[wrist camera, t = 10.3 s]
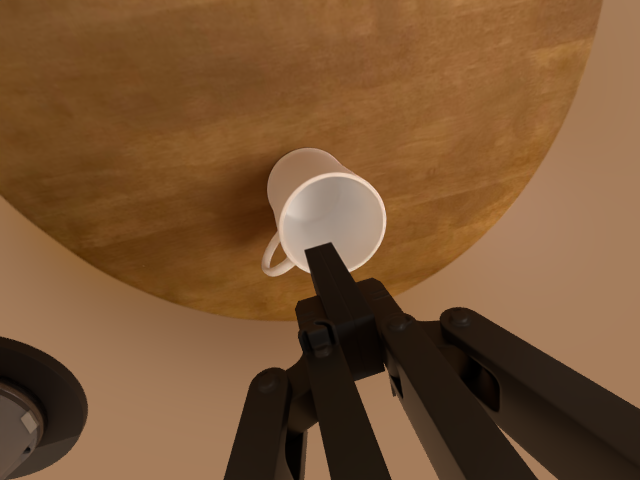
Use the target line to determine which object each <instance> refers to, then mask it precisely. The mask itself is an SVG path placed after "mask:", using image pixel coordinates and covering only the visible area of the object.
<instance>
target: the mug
mask: <svg viewBox="0 0 640 480" xmlns="http://www.w3.org/2000/svg"><path fill="white" fill-rule="evenodd" d="M267 194H268V199H269V203H270V205H271V207H272V209H273V211H274V215H275V220H276V225H277V229H278V231H277V232H276V234H275V235H274V236H273V238H272V240H271V241H270V243H269V245H268V246H267V248H266V251H265V253H264V255H263V259H262V269H263V271H264V273H266V274H267V275H269V276H279V275H281V274H283V273H285V272H287V271H288V270H289V269H291V268H292V267H293V266H295V265H296V266H298V267H299V268H300V269H302V270H304V271H306V272H308V273H310V270H309V266H308V263H307V259H306V255H305V252H304V250H305V249H309V248H312V247H316V246H319V245H322V244H326V243H329V242H332V244H333V246H334V247H335V249H336V251H337V252H338V254H339V256H340V257H341V259H342V261H343V262H344V264H345V266H346V267H347V269H348V271H349V272H351V271H353V270H355V269H357V268H358V267H360V266H362V265H363V264H364V263H365V262H367V261H368V260H369V259H370V258H371V257H372V256H373V254H374V253H375V252H376V250H377V249H378V247H379V245H380V243H381V241H382V239H383V236H384V233H385V228H386V212H385V207H384V204H383V201H382V199H381V197H380V196H379V194H378V192H377V191H376V190H375V189H374V188H373V187H372V186H371V185H370V184H369V183H368V182H367V181H365V180H364V179H362V178H361V177H359V176H358V175H356V174H355V173H353V172H352V171H350V170H349V169H347V168H346V167H344V166H343V165H341V164H340V163H339V162H338V160H337V159H336V158H334V157H333V156H332V155H331V154H329V153H327V152H325V151H323V150H320V149H316V148H301V149H297V150H294V151H292V152H290V153H288V154H286V155H285V156H283V157H282V158H281V159H280V160H279V161H278V162H277V163H276V165H275V166H274V167H273V169H272V171H271V173H270V176H269V179H268V184H267ZM279 242H281V245H282V247H283V250H284V251H285V253H286V255H287V256H288V257H287V258H286V259H285V260H284V261H282V262H281V263H280V264H278V265H277V266H275V267H273V268H269V265H270V260H271V257H272V255H273V253H274V251H275V249H276V247H277V246H278V244H279Z"/></svg>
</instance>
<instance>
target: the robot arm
mask: <svg viewBox="0 0 640 480" xmlns="http://www.w3.org/2000/svg"><path fill="white" fill-rule="evenodd" d="M304 252H305V255H306V259H307V263H308V266H309V270H310V273H311V277H312V281H313V284H314V288H315V291H316V294H317V296H314V297H311V298H307V299H304V300H301V301H298V303H297V306H296V308H295V311H296V316H297V320H298V325H299V329H300V330H299V332H298V339H299V342H300V345H301V348H302V351H303V354H302V356H301V358H300V360H299V361H298V362H297V363H296V364H294V365H293V366H292V367H290V368H289V369H287V370H286V371H285V370H283V369H281V368H269V369H265V370H263V371H262V372H260V373H259V374H257V375H256V377H255V378H254V379H253V380H252V382H251V384H250V386H249V390H248V393H247V397H246V401H245V404H244V408H243V411H242V415H241V419H240V422H239V426H238V429H237V433H236V437H235V440H234V444H233V448H232V451H231V455H230V458H229V462H228V465H227V469H226V473H225V476H224V480H304V475H305V461H306V447H307V433H308V432H307V429H309V428H310V427H311V426H313V425H314V424H315V423H317V422H319V426H320V431H321V435H322V440H323V444H324V449H325V454H326V458H327V463H328V467H329V472H330V477H331V480H392V479H391V477H390V474H389V471H388V469H387V466H386V464H385V461H384V458H383V456H382V453H381V451H380V448H379V445H378V443H377V440H376V437H375V435H374V432H373V429H372V427H371V424H370V422H369V419H368V416H367V414H366V411H365V408H364V406H363V403H362V401H361V398H360V395H359V393H358V390H357V387H356V385H355V382H354V381H356V380H360V379H363V378H366V377H369V376H372V375H375V374H378V373H381V372H384V371H385V367H384V364H385V366H386V368H387V370H388V373H389V378H390V384H391V389H392V394H393V396H396V394H397V396H398V398H399V400H400V402H401V404H402V406H403V408H404V410H405V412H406V414H407V416H408V418H409V420H410V422H411V424H412V426H413V428H414V430H415V432H416V434H417V436H418V438H419V440H420V442H421V444H422V446H423V448H424V450H425V451H426V454H427V456H428V458H429V460H430V462H431V464H432V466H433V468H434V470H435V472H436V474H437V476H438V478H439V480H538V479H537V478H536V476H535V475H534V474H533V472H532V471H531V470H530V468H529V467H528V466H527V464H526V463H525V462H524V461H523V459H522V458H521V457H520V455H519V454H518V453H517V451H516V450H515V449H514V447H513V446H512V445H511V444H510V442H509V441H508V440H507V438H506V437H505V436H504V434H503V433H502V432H501V430H500V429H499V428H498V426H499V427H500V428H501V429H502V430H503V431H504V432H505V433H507V434H508V435H509V436H510V437H511V438H512V439H513V440H514V441H516V442H517V443H518V444H519V445H520V446H521V447H522V448H523V449H524V450H526V451H527V452H528V453H529V454H530V455H531V456H532V457H534V458H535V459H536V460H537V461H538V462H539V463H540V464H541V465H542V466H544V467H545V468H546V469H547V470H548V471H549V472H550V473H551V474H553V475H554V476H555V477H556V478H557V479H558V480H640V409H639V408H637V407H635V406H634V405H632V404H630V403H629V402H627V401H625V400H623V399H622V398H620V397H618V396H617V395H615V394H613V393H612V392H610V391H608V390H607V389H605V388H603V387H601V386H600V385H598V384H596V383H595V382H593V381H591V380H590V379H588V378H586V377H585V376H583V375H581V374H579V373H577V372H576V371H574V370H573V369H571V368H569V367H568V366H566V365H564V364H563V363H561V362H559V361H557V360H556V359H554V358H553V357H551V356H549V355H547V354H546V353H544V352H542V351H541V350H539V349H537V348H536V347H534V346H532V345H530V344H529V343H527V342H526V341H524V340H522V339H520V338H519V337H517V336H515V335H514V334H512V333H510V332H509V331H507V330H505V329H504V328H502V327H500V326H499V325H497V324H495V323H493V322H492V321H490V320H488V319H487V318H485V317H483V316H482V315H480V314H478V313H477V312H475V311H473V310H470V309H468V308H461V307H456V308H450V309H447V310H445V311H444V312H443V313H442V314H441V316H440V320H439V321H417V320H416V319H415V318H413V317H412V316H411V315H409V314H406V313H403V311H402V310H401V308H400V307H399V306H398V305H397V303H396V302H395V301H394V299H393V298H392V296H391V295H390V294H389V292H388V291H387V290H386V288H385V287H384V285H383V284H382V283H381V282H380V281H378V280H376V279H374V278H369V279H366V280H363V281H360V282H356V283H355V281H354V279H353V278H352V276H351V274H350V273H349V271H348V269H347V267H346V266H345V264H344V262H343V261H342V259H341V257H340V256H339V254H338V252H337V251H336V249H335V247H334V246H333V244H332V242H329V243H326V244H322V245H319V246H316V247H312V248H309V249H305V250H304ZM395 392H396V393H395ZM497 425H498V426H497ZM47 427H48V414H47V411H46V408H45V406H44V404H43V403H42V401H41V400H40V399H39V397H38V396H37V395H36V394H35V393H34V392H33V391H31V390H30V389H29V388H27V387H26V386H24V385H23V384H21V383H19V382H17V381H15V380H13V379H11V378H8V377H6V376H3V375H0V480H4V479H5V478H6V477H7V476H8V475H9V474H10V473H12V472H13V471H14V470H15V469H16V468H17V467H18V466H19V465H20V464H21V463H22V462H24V461H25V460H26V459H27V458H28V457H29V456H30V455H31V454H32V453H33V451H34V450H35V449H36V447H37V446H38V444H39V442H40V441H41V439H42V438H43V436H44V434H45V432H46V430H47Z"/></svg>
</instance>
